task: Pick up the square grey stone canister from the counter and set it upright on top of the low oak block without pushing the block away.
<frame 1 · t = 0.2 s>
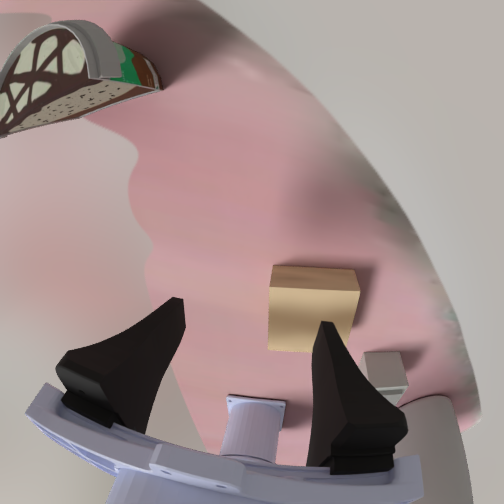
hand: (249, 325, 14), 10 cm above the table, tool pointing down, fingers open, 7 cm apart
food container: (114, 72, 18), on the table
oak block: (310, 298, 25), on the table
stone canister: (376, 364, 28), on the table
cylinder vase: (416, 413, 33), on the table
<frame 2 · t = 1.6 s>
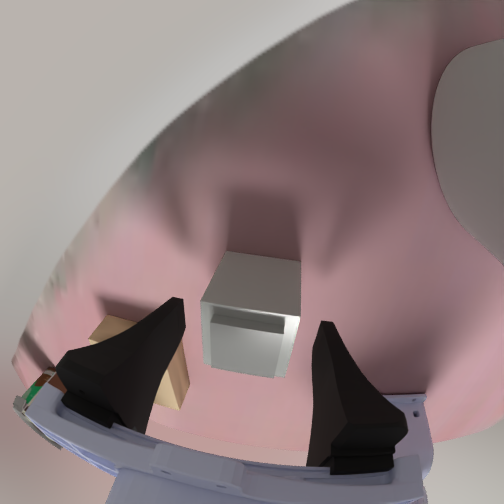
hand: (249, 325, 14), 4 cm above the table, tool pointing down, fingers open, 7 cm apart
food container: (58, 381, 32), on the table
oak block: (150, 349, 22), on the table
stone canister: (259, 286, 17), on the table
cylinder vase: (501, 145, 10), on the table
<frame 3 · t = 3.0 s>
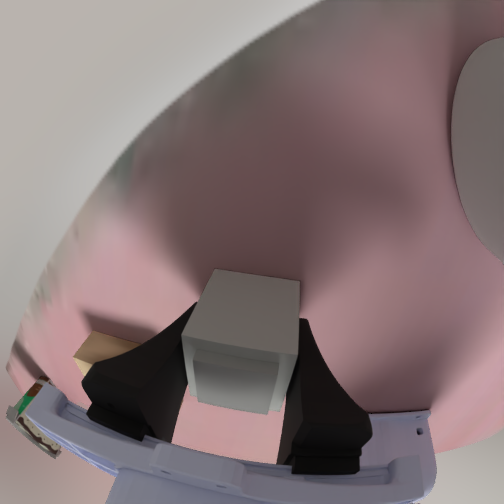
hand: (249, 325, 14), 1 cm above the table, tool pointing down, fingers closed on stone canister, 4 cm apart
food container: (52, 390, 30), on the table
oak block: (139, 366, 21), on the table
stone canister: (253, 308, 15), on the table, touching gripper
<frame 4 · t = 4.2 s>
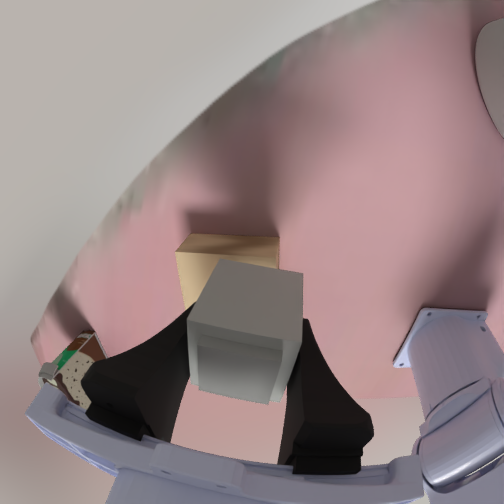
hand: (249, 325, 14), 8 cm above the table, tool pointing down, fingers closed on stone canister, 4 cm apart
food container: (91, 349, 33), on the table
oak block: (236, 272, 23), on the table
stone canister: (256, 299, 15), point 7 cm above the table, touching gripper
when the fingers open (6 cm above the table, at t = 5.9 s): stone canister stays where it is, point 3 cm above the table.
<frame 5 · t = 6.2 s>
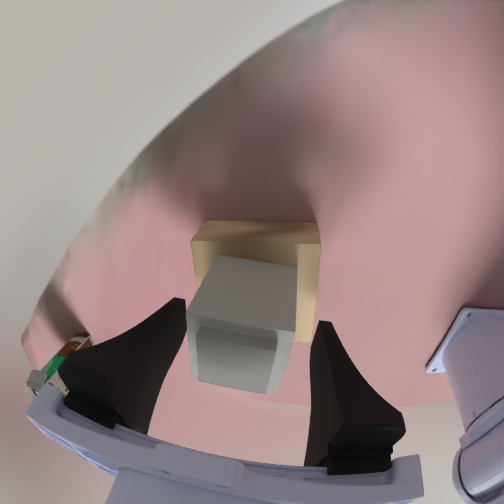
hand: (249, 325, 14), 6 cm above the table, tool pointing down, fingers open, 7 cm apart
food container: (86, 354, 29), on the table
oak block: (262, 267, 19), on the table
stone canister: (252, 293, 16), point 3 cm above the table
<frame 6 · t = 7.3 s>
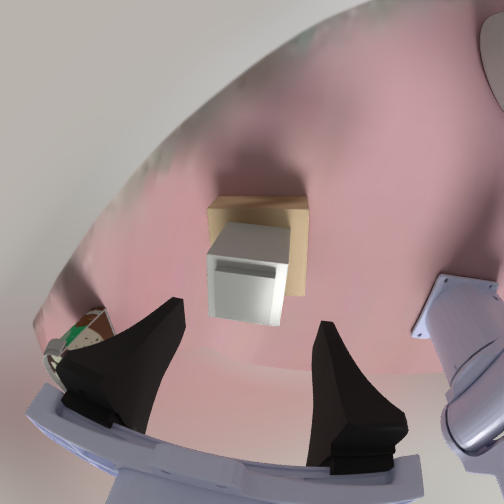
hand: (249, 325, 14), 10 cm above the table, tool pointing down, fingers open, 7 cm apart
food container: (99, 329, 33), on the table
oak block: (263, 235, 23), on the table, touching stone canister
stone canister: (256, 253, 20), point 3 cm above the table, touching oak block
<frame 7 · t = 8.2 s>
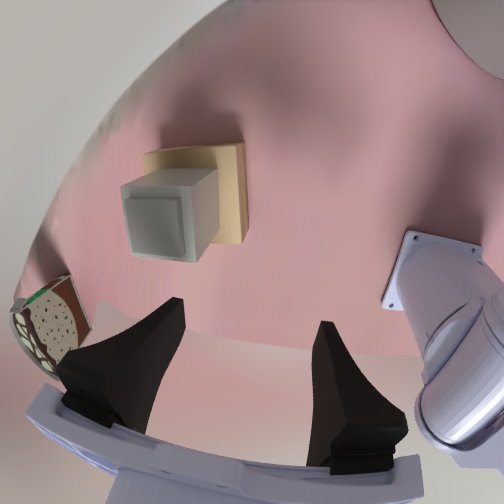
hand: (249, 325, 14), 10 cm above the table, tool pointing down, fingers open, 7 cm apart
food container: (68, 298, 32), on the table
oak block: (205, 186, 22), on the table, touching stone canister
stone canister: (189, 198, 19), point 3 cm above the table, touching oak block
cylinder vase: (481, 20, 10), on the table
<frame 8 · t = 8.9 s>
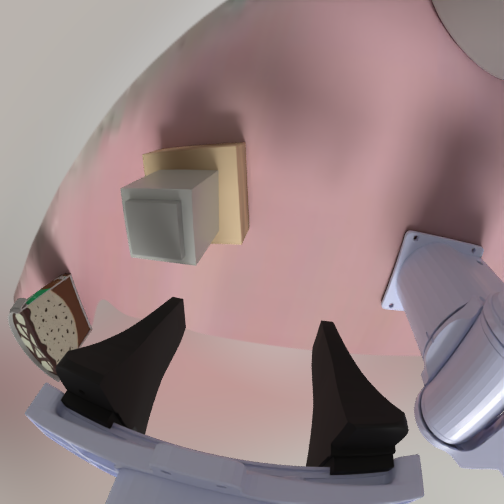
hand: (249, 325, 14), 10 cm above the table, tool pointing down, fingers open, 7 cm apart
food container: (68, 298, 32), on the table
oak block: (205, 186, 22), on the table, touching stone canister
stone canister: (188, 199, 19), point 3 cm above the table, touching oak block
cylinder vase: (481, 20, 10), on the table
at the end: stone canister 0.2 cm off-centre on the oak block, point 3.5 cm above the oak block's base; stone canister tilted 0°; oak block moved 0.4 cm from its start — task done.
